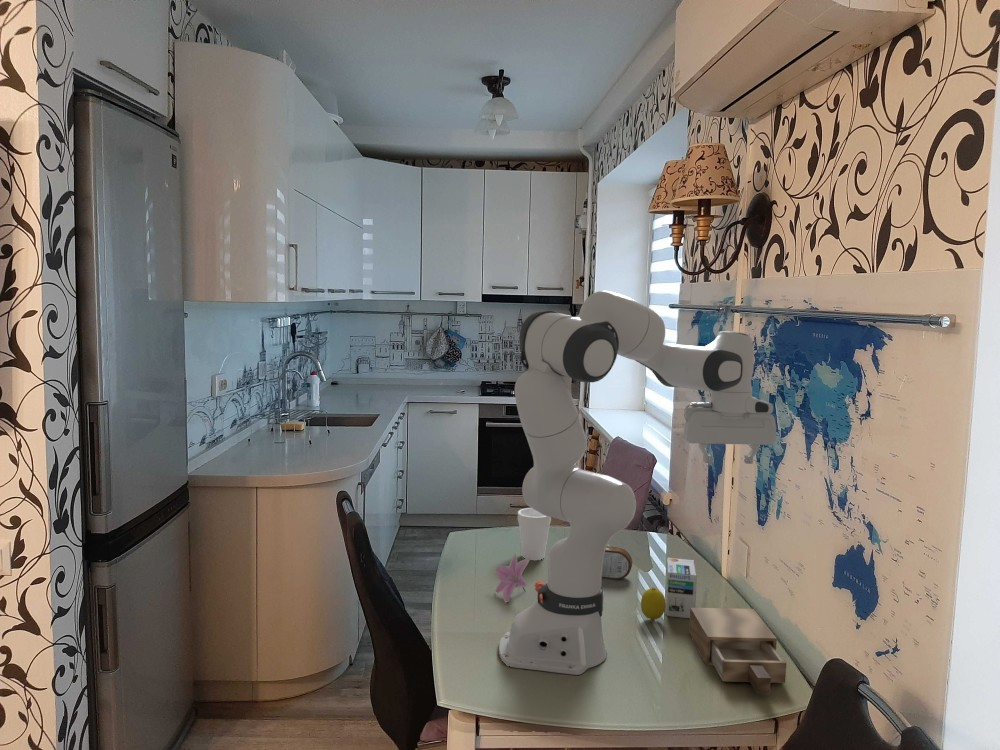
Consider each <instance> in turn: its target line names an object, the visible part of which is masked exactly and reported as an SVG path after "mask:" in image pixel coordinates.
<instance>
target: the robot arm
mask: <svg viewBox="0 0 1000 750" xmlns="http://www.w3.org/2000/svg"><path fill="white" fill-rule="evenodd" d="M716 334H717V335H716V338H715V339H714V340H713V341H712V342H710V343H709V344H707V345H705V346H699V345H697V346H696V345H689V344H688V345H687V344H682V343H681V344H680V343H675V342H674V343H673V342H672V343H671V342H670V343H669V342H668V343H664V342H665V338H666V325H665V323H664V320H663V319H662V318H661V316H660V315H659V314H658V313H657V312H656V311H654V310H653V309H652V308H650V307H648V306H647V305H645V304H643V303H641V302H639V301H638V300H635V299H632V297H628V296H626V295H624V294H621V293H616V292H614V291H609V290H599V291H596V292H593V293H591V294H590V295H589V296H588V297H587V298H586V299H585V300H584V301H583V303H582V304H581V307H580V310H579V314H577V315H575V316H572V315H569V314H564V313H559V312H557V311H553V310H541V311H536V312H533V313H531V314H530V315H528V316H527V318H525V320H523V322H522V325H521V328H520V330H519V338H518V339H519V341H518V342H519V343H518V344H519V349H520V355H519V357H520V359H519V360H520V362H521V364H522V365H523V367H524V368H525V369H527V370H525V371H524V372H523V373H522V374H521V375H519V377H518V378H517V380H516V381H515V385H514V396H515V397H514V398H515V404H516V409H517V412H518V417H519V420H520V423H521V426H522V429H523V432H524V434H525V437H526V440H527V443H528V446H529V449H530V452H531V456H532V460H533V467H531V468H530V469H528V472H527V473H526V474H525V476H524V479H523V482H522V488H521V491H522V497H523V500H524V502H525V504H526V505H527V506H528V508H533V509H534V510H536V511H538V512H540V513H542V514H543V515H545V516H549V517H551V519H552V518H553V519H557V520H560V521H564V522H568V523H569V526H570V527H569V533H568V536H567V537H564V538H561V539H559V540H558V541H556V542H555V543H554V544H553V545H552V547H551V548H550V549H549V552H548V566H547V567H548V569H547V583H544V581H542V580H536V582H535V584H534V587H535V588H534V589H535V591H536V592H537V601H535V602H534V603H532V604H531V605H529V606H528V607H526V608H524V609H523V610H521V611H520V612H518V613H517V614H516V615H515V617H514V618H513V621H512V623H511V628H510V631H507V632H505V633H504V634H503V635H502V636H501V637H500V640H499V644H498V655H499V654H500V656H499V658H500V657H501V659H502V660H501V659H500V660H501V662H502V661H503V662H504V663H505V664H506V665H505V664H504V663H503V662H502V663H503V664H504V665H505V666H506V667H509V666H510V668H516V669H526V670H534V671H540V672H541V671H542V672H551V673H557V674H565V675H575V676H577V675H581V674H583V673H585V672H586V671H587V670H588V669H590V668H593V667H596V666H598V665H600V664H601V663H603V662H604V661H605V660H606V658H607V655H608V653H607V649H606V645H605V642H604V636H603V628H602V616H603V611H604V591H603V587H602V579H603V578H602V565H603V557H604V552H605V549H606V547H607V546H608V545H609V543H610V541H611V540H612V539H613V537H614V536H616V535H617V534H618V533H619V532H621V531H623V530H625V528H627V527H628V526H629V525H630V524H631V522H632V521H633V519H634V517H635V513H636V509H637V501H636V495H635V492H634V490H633V489H632V487H631V486H630V485H629V484H627V483H625V482H623V481H622V480H620V479H617V478H615V477H612V476H611V475H607V474H602V473H598V472H593V471H589V470H585V469H582V468H580V467H579V466H578V465H577V464H578V462H580V461H581V460H582V458H583V457H584V455H585V454H586V451H587V448H588V437H587V436H586V432H585V430H584V427H583V423H582V420H581V417H580V414H579V412H578V409H577V405H576V402H575V401H574V398H573V396H572V395H573V393H572V381H573V380H574V381H576V382H580V383H596V382H599V381H601V380H602V379H604V378H605V377H606V376H607V375H608V374H609V373H610V372H611V370H612V368H613V366H614V365H615V362H616V360H617V357H618V356H621V357H622V358H626V359H628V360H632V361H635V362H636V363H639V364H640V365H642V366H644V367H646V368H647V369H648V370H650V371H651V372H652V373H653V375H654V376H655V377H656V380H658V382H660V384H662V385H663V386H664V387H669V388H682V389H689V390H697V391H703V392H711V393H710V394H711V395H710V402H696V401H693V402H691V403H690V404H687V405H686V407H685V409H684V420H685V421H684V422H685V423H684V428H683V439H684V440H685V441H686V442H687V443H689V444H698V448H699V451H701V453H702V454H703V455H702V462H703V463H704V464H712V458H713V457H712V455H711V454H710V453H707V450H706V449H708V444H711V445H712V444H713V445H749V448H750V450H749V452H748V454H744V460H743V462H744V464H747V465H753V464H754V457H755V456H756V454H757V453H758V451H759V449H760V445H761V446H762V445H763V446H772V445H774V444H775V442H776V440H777V423H776V419H775V416H774V415H773V414H772V413H773V412H774V405H773V404H772V403H770V402H768V401H765V400H763V399H761V398H759V397H757V396H753V386H752V377H753V375H754V366H755V359H754V357H755V355H754V354H755V353H754V344H753V343H754V342H753V339H752V337H751V335H749V334H746V333H744V332H739V331H732V330H722V331H719V332H718V333H716ZM505 638H507V639H505Z"/></svg>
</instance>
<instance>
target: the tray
mask: <svg viewBox="0 0 1000 750" xmlns="http://www.w3.org/2000/svg"><path fill="white" fill-rule="evenodd" d="M710 659H711V661H712V663H713V665H712V666H714V668H715V669H716V672H717V673H718V675H719V677H720V678H721V680H722V682H732V683H733V682H738V683H740V682H741V683H742V682H745V683H746V682H747V683H750V684H751V686H752V688H753V689H754V691H755V692H756V693H757V694H771V684H772V683H779V684H780V683H783V684H785V683H786V674H787V662H786V661H785V660H783V659H782V657H781V656H780V655H779V653H778V651H777V650H776V651H775V649H774V648H773V647H772V645H771V644H770V643H769V641H744V640H711V642H710Z"/></svg>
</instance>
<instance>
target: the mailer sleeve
mask: <svg viewBox="0 0 1000 750" xmlns="http://www.w3.org/2000/svg"><path fill="white" fill-rule="evenodd" d="M688 634H689V636H690V637H691V639H693V640H692V641H693V643H694V646H695V647H696V649H697V651H698V653H699V654H700V656H701V658H702V659H703V660H702V661H703V662H704V664H705V665H706V666H714V665H713V663H712V661H711V659H710V642H711V640H744V641H769V643H770V644H771V645H772V647H773V648H774V649H775V651H776V652H777V644H778V643H777V640H778V638H777V637H776V635H775V634H774V633H773V632H772V630H771V629H770V627H769V626H768V625H767V624H766V623H765V622H764V620H763V619H762V618H761V616H760V615H759V614H758V612H757V611H756V609H754V608H731V607H730V608H727V607H725V608H724V607H723V608H721V607H720V608H718V607H695V608H690V618H689V629H688Z"/></svg>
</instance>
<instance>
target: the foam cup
mask: <svg viewBox="0 0 1000 750" xmlns="http://www.w3.org/2000/svg"><path fill="white" fill-rule="evenodd" d="M517 522H518V528H519V537H520V547H521V549H520V550H521V555H522V556H523V557H524V558H526V559H528V558H529V559H530V560H539V561H542V560H544V559H545V554H546V549H547V543H548V537H549V531H550V526H551V525H550V524H551V522H552V517H549V516H545V515H543V514H542V513H540V512H538V511H536V510H534V509H533V508H531V507H526V508H525V507H524V508H522V509H519V510H517ZM522 556H521V557H522ZM523 557H522V558H523ZM524 558H523V559H524ZM543 558H544V559H543ZM541 559H542V560H541Z"/></svg>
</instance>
